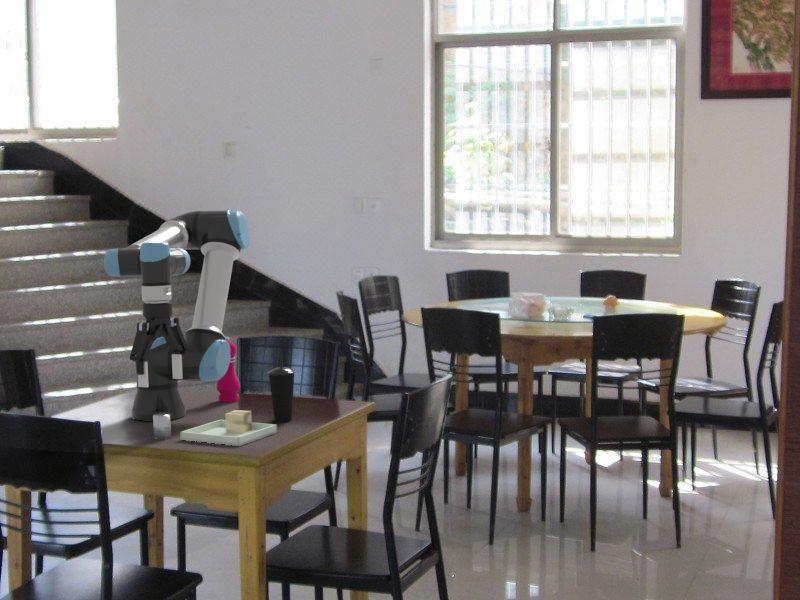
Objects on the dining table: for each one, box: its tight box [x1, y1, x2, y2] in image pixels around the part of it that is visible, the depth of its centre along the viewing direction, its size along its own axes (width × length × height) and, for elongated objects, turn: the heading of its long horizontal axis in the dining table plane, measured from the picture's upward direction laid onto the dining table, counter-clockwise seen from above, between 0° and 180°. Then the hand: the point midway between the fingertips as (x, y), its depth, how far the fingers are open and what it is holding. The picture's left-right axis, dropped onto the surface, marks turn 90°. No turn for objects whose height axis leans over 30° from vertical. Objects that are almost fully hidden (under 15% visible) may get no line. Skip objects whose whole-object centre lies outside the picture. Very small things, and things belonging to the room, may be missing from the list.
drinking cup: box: [267, 348, 296, 423], centre depth 304 cm, size 8×8×20 cm
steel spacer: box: [152, 413, 172, 440], centre depth 285 cm, size 4×4×6 cm
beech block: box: [224, 409, 252, 433], centre depth 288 cm, size 5×5×5 cm
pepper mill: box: [216, 336, 241, 403], centre depth 336 cm, size 7×7×20 cm
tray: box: [179, 419, 278, 447], centre depth 284 cm, size 19×17×2 cm
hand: (160, 382), depth 284 cm, fingers open, 13 cm apart
